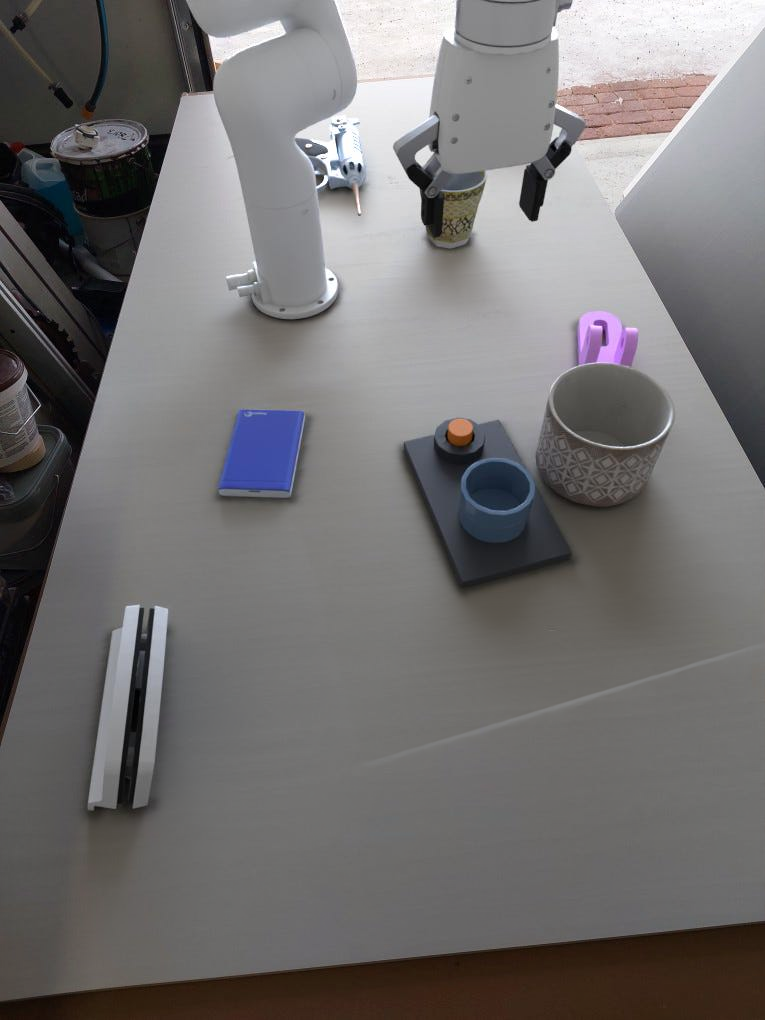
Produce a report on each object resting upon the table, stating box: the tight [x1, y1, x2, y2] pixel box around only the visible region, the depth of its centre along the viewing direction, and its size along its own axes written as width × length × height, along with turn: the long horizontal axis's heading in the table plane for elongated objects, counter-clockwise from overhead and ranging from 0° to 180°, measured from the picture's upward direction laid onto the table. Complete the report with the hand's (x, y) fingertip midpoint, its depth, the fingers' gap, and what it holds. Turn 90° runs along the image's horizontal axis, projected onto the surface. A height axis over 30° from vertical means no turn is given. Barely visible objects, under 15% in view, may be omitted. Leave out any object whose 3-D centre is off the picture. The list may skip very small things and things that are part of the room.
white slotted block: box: [87, 604, 169, 811], centre depth 60 cm, size 17×5×10 cm, turn 6°
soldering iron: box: [295, 115, 367, 217], centre depth 118 cm, size 6×28×16 cm
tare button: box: [448, 418, 473, 447], centre depth 78 cm, size 3×3×2 cm
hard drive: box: [217, 408, 306, 499], centre depth 81 cm, size 2×8×12 cm
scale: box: [403, 417, 573, 589], centre depth 76 cm, size 12×20×3 cm, turn 16°
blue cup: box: [458, 458, 536, 543], centre depth 72 cm, size 7×7×5 cm
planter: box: [535, 363, 676, 507], centre depth 75 cm, size 13×13×10 cm
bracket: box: [576, 310, 639, 368], centre depth 89 cm, size 13×6×7 cm, turn 172°
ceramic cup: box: [418, 165, 488, 250], centre depth 105 cm, size 13×10×10 cm
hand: (480, 221), depth 66 cm, fingers open, 9 cm apart
